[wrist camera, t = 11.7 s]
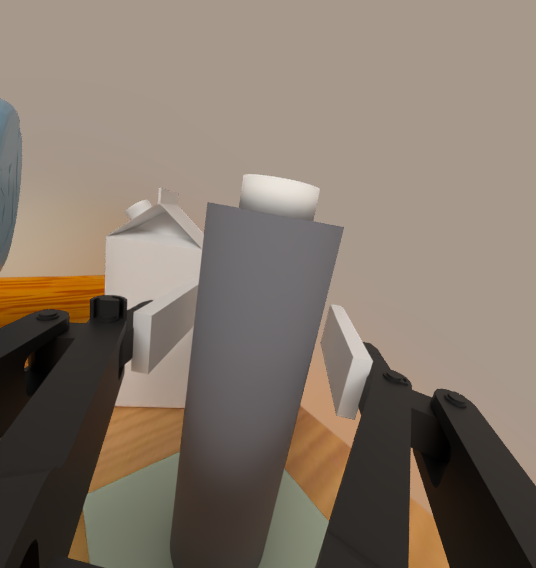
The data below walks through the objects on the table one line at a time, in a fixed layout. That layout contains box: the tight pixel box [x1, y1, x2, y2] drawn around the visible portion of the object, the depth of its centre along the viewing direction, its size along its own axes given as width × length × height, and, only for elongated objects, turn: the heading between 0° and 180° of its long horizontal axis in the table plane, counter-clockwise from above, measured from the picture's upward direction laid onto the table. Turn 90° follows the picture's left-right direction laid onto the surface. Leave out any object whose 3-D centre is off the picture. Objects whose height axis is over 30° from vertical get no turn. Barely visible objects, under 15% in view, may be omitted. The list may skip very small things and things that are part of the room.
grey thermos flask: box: [170, 174, 344, 568], centre depth 13 cm, size 5×5×19 cm
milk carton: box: [105, 188, 204, 408], centre depth 24 cm, size 7×7×19 cm
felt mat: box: [83, 452, 329, 568], centre depth 15 cm, size 12×12×1 cm
